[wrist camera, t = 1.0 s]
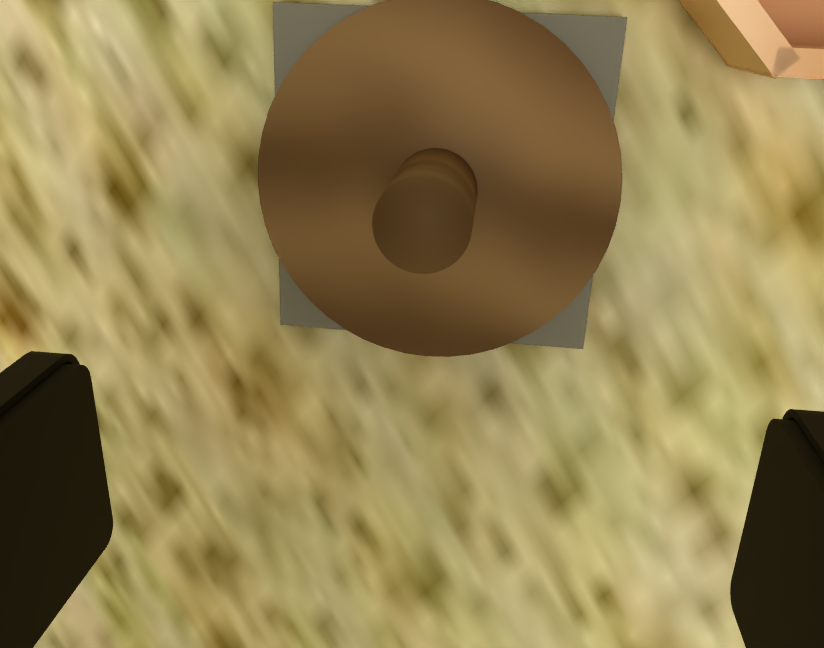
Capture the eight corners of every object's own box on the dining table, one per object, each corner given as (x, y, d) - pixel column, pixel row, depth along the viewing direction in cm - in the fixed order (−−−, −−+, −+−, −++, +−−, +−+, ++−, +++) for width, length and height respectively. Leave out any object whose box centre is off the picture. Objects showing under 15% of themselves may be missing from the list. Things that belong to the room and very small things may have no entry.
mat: (580, 338, 31) (582, 348, 30) (287, 315, 32) (280, 324, 31) (623, 17, 27) (627, 17, 26) (280, 2, 28) (272, 2, 27)
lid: (594, 361, 31) (613, 436, 25) (269, 334, 32) (221, 400, 26) (644, 1, 26) (681, -1, 20) (258, -15, 27) (196, -21, 21)
